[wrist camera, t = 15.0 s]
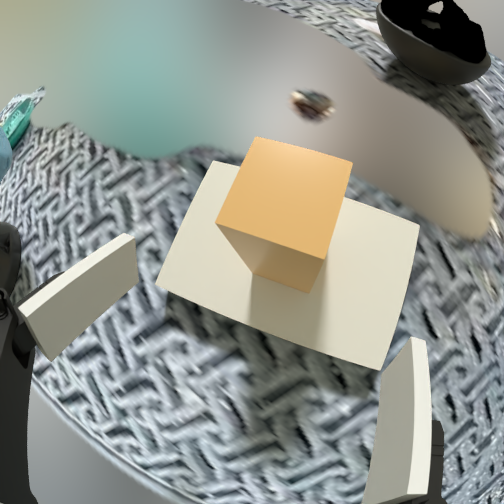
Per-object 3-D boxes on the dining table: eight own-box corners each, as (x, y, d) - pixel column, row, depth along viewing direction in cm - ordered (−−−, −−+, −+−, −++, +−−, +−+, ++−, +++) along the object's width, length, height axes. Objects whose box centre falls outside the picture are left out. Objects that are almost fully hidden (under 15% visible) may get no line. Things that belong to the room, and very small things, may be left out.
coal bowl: (411, 36, 35) (425, -32, 17) (485, 97, 29) (520, 28, 11) (346, 49, 35) (351, -42, 17) (436, 123, 29) (483, 22, 11)
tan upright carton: (252, 273, 24) (214, 222, 13) (273, 220, 25) (255, 136, 14) (309, 293, 23) (324, 259, 11) (328, 238, 24) (352, 162, 12)
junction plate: (168, 289, 28) (123, 272, 20) (220, 174, 31) (197, 128, 23) (371, 366, 23) (403, 381, 15) (408, 235, 26) (444, 201, 18)
